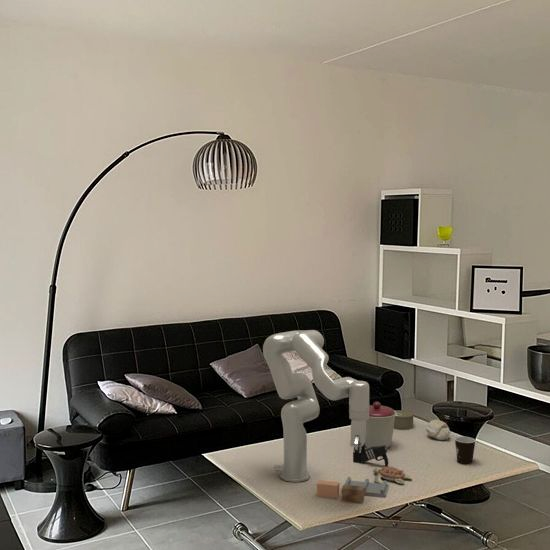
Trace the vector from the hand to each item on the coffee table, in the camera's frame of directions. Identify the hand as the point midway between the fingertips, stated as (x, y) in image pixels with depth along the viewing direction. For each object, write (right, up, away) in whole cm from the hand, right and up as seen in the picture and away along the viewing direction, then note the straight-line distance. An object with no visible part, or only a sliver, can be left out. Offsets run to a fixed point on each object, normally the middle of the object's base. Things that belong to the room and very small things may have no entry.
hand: (359, 458), depth 270 cm
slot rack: (+4, -15, +10) cm, 18 cm away
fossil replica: (+47, -9, +73) cm, 88 cm away
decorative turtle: (+15, -15, +22) cm, 31 cm away
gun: (+10, -13, +39) cm, 42 cm away
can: (+32, -8, +92) cm, 98 cm away
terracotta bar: (-11, -16, +5) cm, 20 cm away
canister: (+15, -11, +62) cm, 64 cm away
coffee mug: (+51, -12, +42) cm, 67 cm away
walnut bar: (-2, -16, 0) cm, 16 cm away
